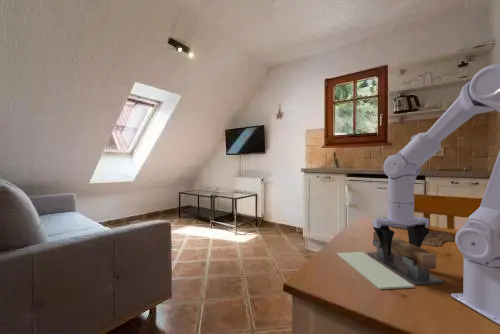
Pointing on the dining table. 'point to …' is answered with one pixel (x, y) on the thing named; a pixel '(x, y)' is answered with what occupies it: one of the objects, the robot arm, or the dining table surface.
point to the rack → (404, 267)
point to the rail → (412, 253)
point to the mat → (374, 271)
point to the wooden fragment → (437, 238)
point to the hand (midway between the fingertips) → (400, 254)
